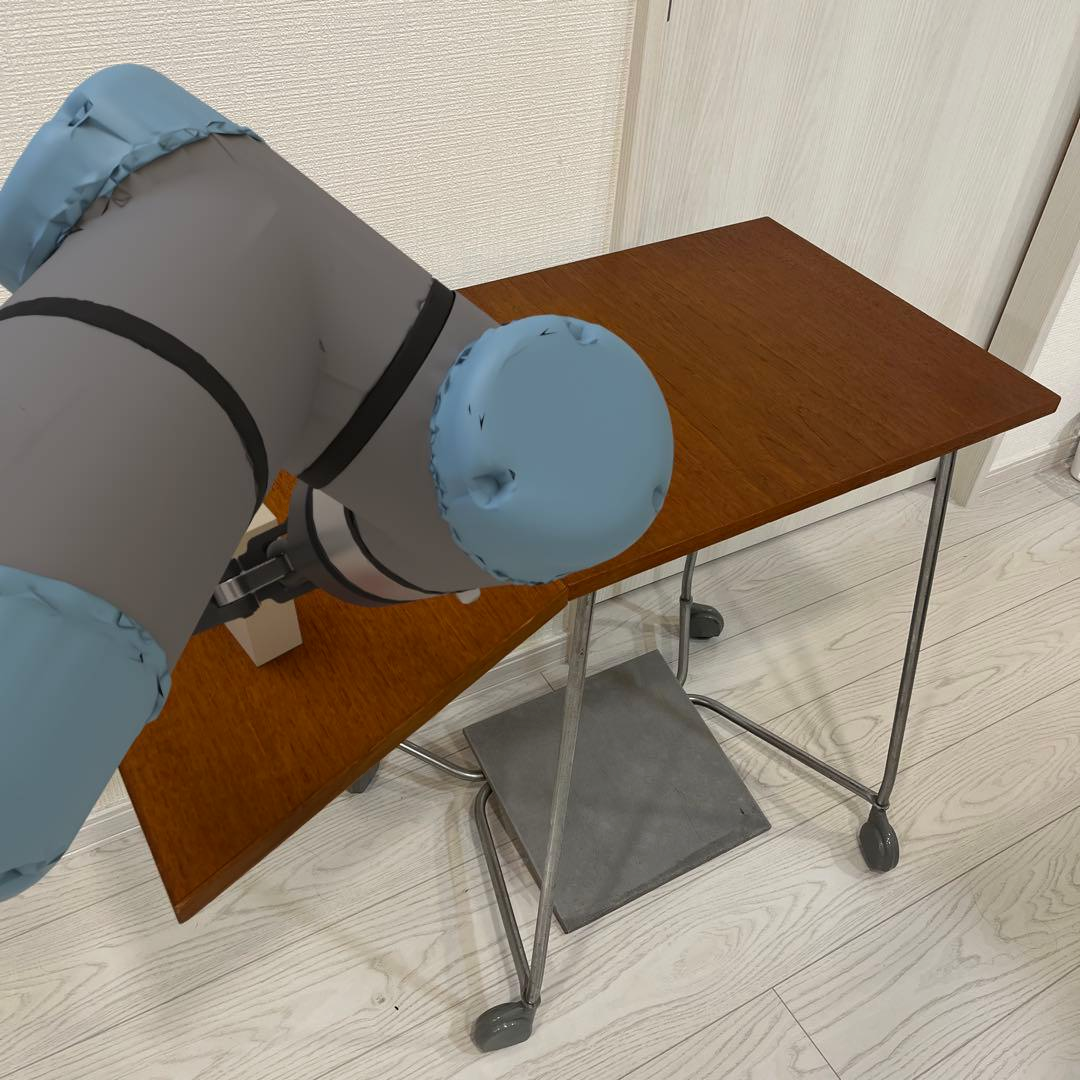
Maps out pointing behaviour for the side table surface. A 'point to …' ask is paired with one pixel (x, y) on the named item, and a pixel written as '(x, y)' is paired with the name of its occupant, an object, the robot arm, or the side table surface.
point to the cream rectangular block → (265, 610)
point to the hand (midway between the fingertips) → (277, 561)
